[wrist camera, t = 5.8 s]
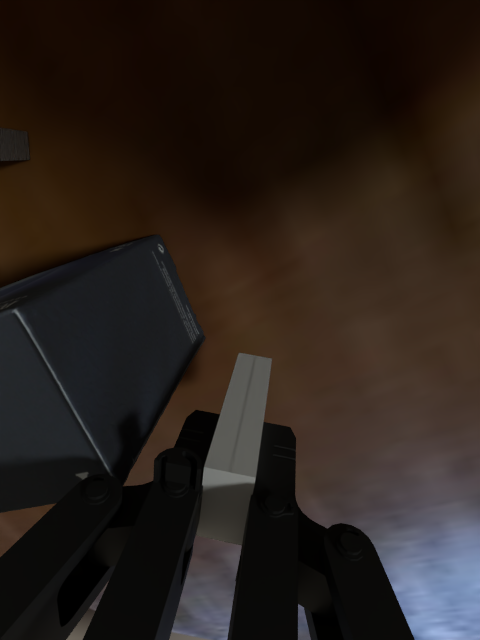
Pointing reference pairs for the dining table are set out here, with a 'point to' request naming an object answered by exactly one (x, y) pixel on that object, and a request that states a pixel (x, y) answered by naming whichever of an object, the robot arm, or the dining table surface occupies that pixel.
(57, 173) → the dining table surface
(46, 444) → the small box
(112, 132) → the dining table surface
